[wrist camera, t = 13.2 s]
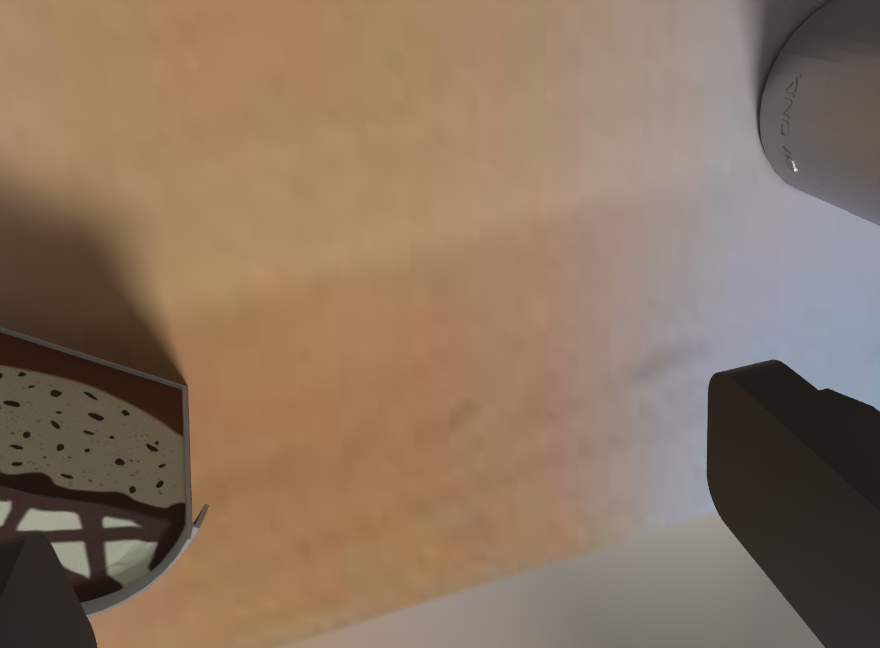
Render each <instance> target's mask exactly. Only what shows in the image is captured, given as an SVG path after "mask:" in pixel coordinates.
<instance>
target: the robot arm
mask: <svg viewBox="0 0 880 648" xmlns="http://www.w3.org/2000/svg"><path fill="white" fill-rule="evenodd" d="M759 119H760V132H761V141H762V144H763V147H764V151H765V154H766V157H767V159H768V160H769V162H770V164H771V166H772V167H773V169H774V171H775V172H776V173H777V174H778V175H779V176H780V177H781V178H782V179H783V180H784V181H785V182H786V183H787V184H789V185H791V186H793V187H795V188H797V189H798V190H800V191H802V192H804V193H807V194H809V195H811V196H814V197H816V198H818V199H821V200H823V201H825V202H827V203H830V204H832V205H834V206H837V207H839V208H841V209H844V210H846V211H848V212H850V213H852V214H854V215H856V216H858V217H861V218H863V219H865V220H868V221H870V222H872V223H875V224H877V225H879V226H880V0H832V1H830V2H829V3H827V4H826V5H825V6H823V7H822V8H820V9H819V10H817V11H816V12H815V13H813V14H812V15H811V16H810V17H809V18H808V19H807V20H806V21H805V22H804V23H803V24H802V25H801V26H800V27H799V28H798V29H797V30H796V31H795V32H794V33H793V34H792V36H791V37H790V39H789V40H788V41H787V43H786V44H785V45H784V47H783V48H782V50H781V51H780V53H779V55H778V57H777V59H776V61H775V63H774V65H773V67H772V69H771V71H770V73H769V75H768V79H767V82H766V85H765V89H764V92H763V95H762V102H761V110H760V118H759ZM707 481H708V486H709V490H710V494H711V497H712V500H713V503H714V505H715V507H716V509H717V511H718V513H719V515H720V517H721V518H722V520H723V521H724V523H725V524H726V525H727V527H728V528H729V529H730V530H731V532H732V533H733V534H734V535H735V536H736V538H737V539H738V540H739V541H740V543H741V544H742V545H743V546H744V548H745V549H746V550H747V551H748V553H749V554H750V555H751V556H752V558H753V559H754V560H755V561H756V563H757V564H758V565H759V566H760V567H761V569H762V570H763V571H764V572H765V574H766V575H767V576H768V577H769V578H770V580H771V581H772V582H773V583H774V585H775V586H776V587H777V588H778V589H779V591H780V592H781V593H782V595H783V596H784V597H785V598H786V600H787V601H788V602H789V603H790V604H791V605H792V607H793V608H794V609H795V611H796V612H797V613H798V614H799V616H800V617H801V618H802V619H803V621H804V622H805V623H806V624H807V625H808V627H809V628H810V629H811V630H812V632H813V633H814V634H815V635H816V636H817V638H818V639H819V640H820V641H821V643H822V644H823V645H824V646H825V648H880V411H878V410H877V409H875V408H874V407H873V406H870V405H868V404H865V403H863V402H860V401H858V400H855V399H853V398H850V397H848V396H845V395H843V394H840V393H838V392H835V391H833V390H830V389H828V388H827V389H823V390H817V389H816V388H815V387H814V386H812V385H811V384H810V383H808V382H807V381H806V380H805V379H803V378H802V377H801V376H800V375H798V374H797V373H796V372H794V371H793V370H792V369H791V368H789V367H788V366H787V365H785V364H784V363H782V362H781V361H778V360H769V361H764V362H760V363H756V364H752V365H748V366H743V367H739V368H735V369H731V370H727V371H722V372H718V373H715V374H714V375H713V376H712V378H711V380H710V382H709V388H708V427H707ZM0 648H97V643H96V639H95V635H94V632H93V629H92V626H91V624H90V622H89V620H88V618H87V616H86V614H85V612H84V610H83V608H82V606H81V603H80V601H79V599H78V597H77V595H76V593H75V591H74V589H73V587H72V585H71V583H70V581H69V579H68V577H67V575H66V573H65V571H64V569H63V566H62V564H61V562H60V560H59V558H58V556H57V554H56V552H55V550H54V548H53V546H52V544H51V543H50V541H49V540H48V539H47V537H45V536H44V535H43V534H41V533H38V532H35V533H31V534H27V535H22V536H18V537H14V538H10V539H6V540H1V541H0Z"/></svg>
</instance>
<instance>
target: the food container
mask: <svg viewBox="0 0 880 648" xmlns="http://www.w3.org/2000/svg"><path fill="white" fill-rule="evenodd" d="M208 507H209V505H207V504H205V505H204V507H203V509H202V510H201V512H200V514H199V515H198V517H197V518H196V520H195V522H194V523H192V497H191V467H190V438H189V408H188V386H186V385H183V384H180V383H177V382H173V381H170V380H167V379H164V378H161V377H158V376H155V375H151V374H148V373H145V372H142V371H139V370H136V369H133V368H130V367H126V366H123V365H120V364H117V363H114V362H111V361H108V360H105V359H101V358H98V357H95V356H92V355H89V354H86V353H83V352H79V351H76V350H73V349H70V348H67V347H64V346H61V345H58V344H54V343H51V342H48V341H45V340H42V339H39V338H36V337H33V336H29V335H26V334H23V333H20V332H17V331H14V330H11V329H7V328H4V327H1V326H0V541H1V540H6V539H10V538H14V537H18V536H22V535H27V534H31V533H35V532H38V533H41V534H43V535H44V536H45V537H47V539H48V540H49V541H50V543H51V544H52V546H53V548H54V550H55V552H56V554H57V556H58V558H59V560H60V562H61V564H62V566H63V569H64V571H65V573H66V575H67V577H68V579H69V581H70V583H71V585H72V587H73V589H74V591H75V593H76V595H77V597H78V599H79V601H80V603H81V606H82V608H83V610H84V612H85V614H86V616H87V617H90V616H93V615H97V614H100V613H103V612H105V611H107V610H110V609H112V608H114V607H116V606H118V605H121V604H123V603H125V602H127V601H129V600H130V599H132V598H133V597H135V596H137V595H138V594H140V593H141V592H143V591H144V590H146V589H148V588H149V587H150V586H151V585H152V584H153V583H155V582H156V581H157V580H158V579H159V578H160V577H162V576H163V575H164V574H165V573H166V572H167V571H168V570H169V569H170V567H171V566H172V565H173V564H174V563H175V562H176V560H177V559H178V558H179V557H180V556H181V555H182V553H183V552H184V551H185V550H186V549H187V548H188V546H189V545H190V543H191V541H192V540H193V538H194V536H195V535H196V533H197V531H198V530H199V528H200V526H201V523H202V521H203V519H204V516H205V514H206V512H207V510H208Z"/></svg>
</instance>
